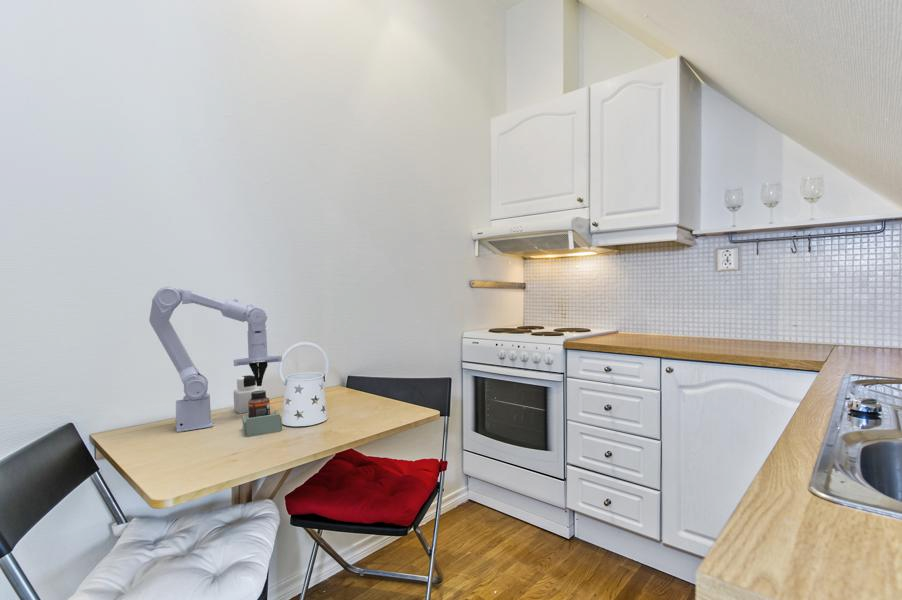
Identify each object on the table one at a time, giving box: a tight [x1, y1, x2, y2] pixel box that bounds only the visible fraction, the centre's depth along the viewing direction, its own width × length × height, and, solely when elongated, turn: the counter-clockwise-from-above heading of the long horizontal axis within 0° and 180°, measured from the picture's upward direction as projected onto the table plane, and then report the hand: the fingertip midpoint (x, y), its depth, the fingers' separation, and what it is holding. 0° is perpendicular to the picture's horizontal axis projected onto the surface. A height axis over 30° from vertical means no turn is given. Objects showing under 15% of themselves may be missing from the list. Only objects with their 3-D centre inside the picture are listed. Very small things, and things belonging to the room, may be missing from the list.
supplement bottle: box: [247, 389, 271, 418], centre depth 134 cm, size 6×6×11 cm
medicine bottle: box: [233, 374, 261, 415], centre depth 158 cm, size 7×7×12 cm
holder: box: [242, 410, 283, 438], centre depth 134 cm, size 10×10×5 cm
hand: (259, 385), depth 148 cm, fingers closed
